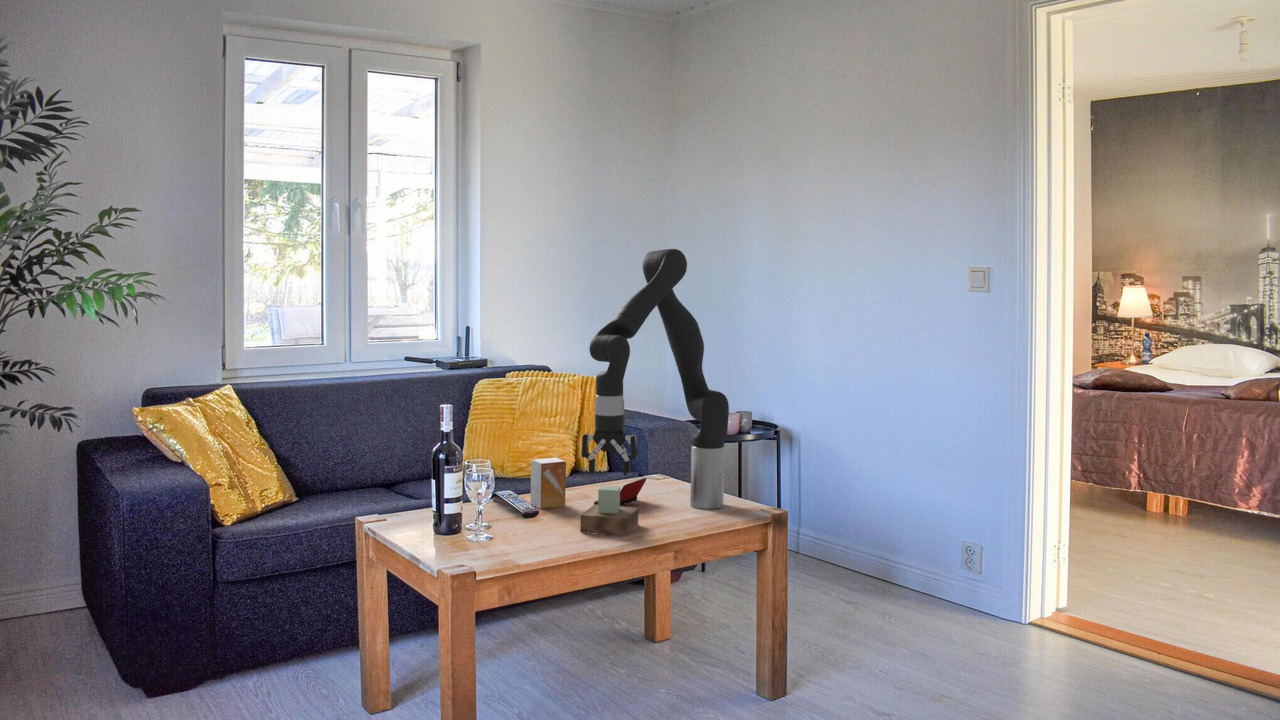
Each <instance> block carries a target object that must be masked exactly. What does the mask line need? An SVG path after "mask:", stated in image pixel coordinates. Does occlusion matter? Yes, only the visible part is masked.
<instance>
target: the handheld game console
mask: <svg viewBox="0 0 1280 720" xmlns="http://www.w3.org/2000/svg"><path fill="white" fill-rule="evenodd" d="M646 481H647V478H646V477H644V478H641V479H638V480H635V481H632V482H629V483H627V484H626V483H625V484H624V485H623V486H622V488H620V506H621V505H622V506H624V505H625V504H624V503H627V504H630V502H631V503H633V502H636V501H638V495H639V493H640V492H641V490H642V488H643V487H644V485H645V483H646ZM632 501H633V502H632ZM595 504H596V505H598V500H595V501H594V502H593V505H595ZM622 506H621V507H622Z"/></svg>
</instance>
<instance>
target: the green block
mask: <svg viewBox="0 0 1280 720" xmlns="http://www.w3.org/2000/svg"><path fill="white" fill-rule="evenodd" d="M597 491H598V492H597V493H598V494H597V496H598V497H597V498H598V499H597V501H598V513H618V511H619V509H620V491H621V486H620V485H600V486H599V488H598V490H597Z"/></svg>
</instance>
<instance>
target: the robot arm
mask: <svg viewBox="0 0 1280 720" xmlns="http://www.w3.org/2000/svg"><path fill="white" fill-rule="evenodd" d="M687 268H688V261H687V258H686V255H685V254H684V253H683V252H682V251H681V250H680V249H677V248H665V249H659V250H658V249H657V250H653V251H652V250H651V251H648V252H647V253H646V254H645V255H644V257H643V260H642V273H643V275H644V278H645V281H646V284H645V285H644V286H643V287H642V288H641V289H639V290H638V291H637V292H636V293H634V294H633V295H632V296H631V297H629V298H628V299H627V301H626V302H625V303H624V304H623V305H622V306H621V307H620V309H619V311H618V312H617V314H616V315H615V316H614V318H613V319H612V320H611V321H609V322H607V324H605V325H604V326H603V327H602V328H601V329H600V330H598V331H597V332H596V333H595V335H594V336H593V337H592V339H591V340H590V345H589V355H590V357H591V358H592V359H593V360H594V361H596V362H597V361H598V362H601V363H602V362H603V363H609V364H608V367H607V370H604V371H600V372H598V373H597V374H596V376H595V401H594V434H589V433H588V432H585V433H584V434H582V436H581V437H582V439H581V457H582V458H586V459H587V460H588V472H589V473H591V474H590V475H595V474H596V458H595V457H596V456H597V455H598V453H599V452H600V451H602V452H605V453H606V452H612V453H615V452H617V453H618V454H619V455H620V456H621V457H622V459H623V476H628V474H630V473H631V460H635V459H636V458H637V457H638V442H637V435H636V434H632V435H626V434H625V399H624V378H625V374H626V371H627V367H628V363H629V359H630V356H631V347H630V343H629V340H628V339H633V338H634V337H635V336H636V335H637V334H638V332H639V331H640V329H641V327H642V326H643V324H644V323H645V321H646V319H648V317H649V315H650V314H651V313H652V312H653V311H654V309H655V308H656V307H657V309H658V312H659V315H660V318H661V321H662V323H663V326H664V330H665V333H666V337H667V340H668V343H669V346H670V349H671V352H672V355H673V358H674V361H675V363H676V364H675V365H676V368H677V371H678V374H679V376H680V380H681V385H682V389H683V394H684V400H685V404H686V408H687V411H688V413H689V415H690V416H691V417H692V418H693V419H695V420H696V421H699V422H700V428H699V429H700V430H699V432H698V433H695V434H693V435H692V437H691V455H690V456H691V459H690V503H689V504H690V506H691V507H693V508H697V509H705V510H707V509H708V510H715V509H722V508H723V506H724V492H725V491H724V490H725V487H724V486H725V485H724V484H725V471H724V470H725V469H724V464H725V461H724V460H725V459H724V458H725V441H726V438H727V435H728V430H729V416H730V406H729V405H730V404H729V400H728V398H727V396H726V395H725V394H724V393H723V392H721V391H718V390H712V389H709V386H708V384H707V381H706V378H705V375H704V371H703V361H704V353H705V343H704V339H703V336H702V332H701V330H700V326H699V323H698V321H697V320H696V318H695V317H694V315H693V314H692V313H691V312H690V310H688V308H687V307H686V306H684V305H683V303H682V302H681V301H680V300H679V299H678V297H677V296H676V295H677V294H676V293H675V291H674V288H675V287H676V286H677V285H678V284H679V282H681V281H682V279H683V278H684V277H685V275H686V273H687V271H688V269H687ZM592 440H593V442H594V443H595V445H596V447H594V448H593V450H592V451H591V452H589V443H591V442H592ZM625 441H627V443H628V445H630V453H629V452H628V451H627V449H626V447H625V446H624V443H625Z"/></svg>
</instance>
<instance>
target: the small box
mask: <svg viewBox="0 0 1280 720" xmlns="http://www.w3.org/2000/svg"><path fill="white" fill-rule="evenodd" d="M566 473H567V461H566V460H564V459H561V458H559V457H556V456H555V457H549V458H546V457H545V458H540V459H539V458H538V459H537V458H536V459H531V460H530V505H531V504H533V505H534V506H533V505H532V506H533V507H535V506H536V507H535V508H537V509H541V510H543V509H549V508H560V507H565V506H566V487H567V486H566V485H567V484H566V481H567V480H566V478H567V474H566Z"/></svg>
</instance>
